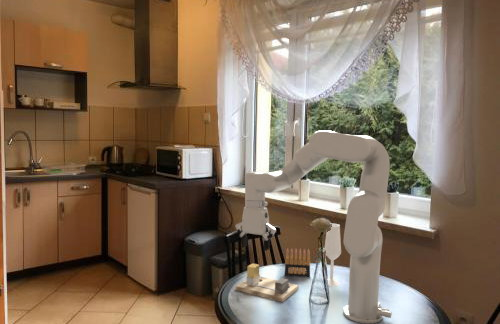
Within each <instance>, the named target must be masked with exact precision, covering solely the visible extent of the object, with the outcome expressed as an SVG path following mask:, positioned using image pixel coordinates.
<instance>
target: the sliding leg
mask: <svg viewBox="0 0 500 324" xmlns="http://www.w3.org/2000/svg"><path fill="white" fill-rule="evenodd" d="M246 274H247V275H246V279H247V280H246V279H245V280H246V284H247V285H251V286H254V285H256V284H257V283H259V281H260V279H261V277H262V276H260V275H261V274H260V264H257V263H251V264H249V265H247V271H246Z"/></svg>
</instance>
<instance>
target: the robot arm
mask: <svg viewBox="0 0 500 324" xmlns="http://www.w3.org/2000/svg"><path fill="white" fill-rule="evenodd" d="M328 159H331V160H338V161H342V162H347V163H356V164H357V163H362V167H363V168H362V171H361V174H360V183H359V189H358V193H356V194H355V195H354V196H353V197H352V198H350V199H351V200H350V201H349V204H348V206H347V212H346V219H345V225H344V226H345V227H344V233H343V246H344V248H345V250H346V252H347V253H348V254H349V255H350V258H349V259H350V260H349V277H348V278H349V279H348V282H349V283H348V298H347V299H348V303H347V304H348V305H345V306H344V307H343V308H342V311H343V315H344V317H346V318H347V319H349V320H351V321H353V322H356V323H360V324H377V323H380V322H381V321H382V320H383V317H385V318H388V319H391V318H392V312H391V311H390V309H389V308H386V307H385V308H384V307H382V306H381V302H380V301H379V294H380V293H379V292H380V290H379V289H380V270H381V257H382V256H381V255H382V248H383V240H384V239H383V233H382V229H381V228H380V226H378V225H379V224H378V223H379V218H380V217H381V216H382V215H383V214H384V211H385V209H386V202H387V194H388V185H389V184H388V183H389V177H390V169H391V168H390V167H391V166H390V164H391V163H390V156H389V153H388V151H387V149H386V148H385V146H384V145H383V144H382V143H381V142H379V141H378V140H377V139H375V138H373V137H372V136H369V135H365V134H364V135H357V134H347V133H340V132H336V131H334V130H333V131H332V130H326V129H324V130H322V129H321V130H317V131H315V132H314V133H313V134H311V136H310V137H309V140H308V142H307V143H305V144H304V145H303V146H302V147H300V148H299V149H297V150H296V151H295V152H294V154H293V158H292V159H291V161H289V162H288V163H287V164H286V165H285V166H283V167H281V168H280V169H278V170H275V171H270V172H261V171H248V172H246V173H245V174H244V195H245V196H244V198H245V199H244V203H245V205H244V207H243V210H242V211H243V212H242V218H241V222H238V223H236V224H235V229H236V230H237V233H238V235H239V237H240V241H241V244H240V245H241V248H245V247H247V246H248V235H247V234H250V235H251V234H252V235H258V236H259V235H260V236H262V238H264V240H263V251H264V252H267V251H268V250H269V249H270V248H271V239H272V238H273V237H274V236H275V233H277V229H276V228H275V227H274V226H273V225H271V223H270V216H269V210H268V208H267V206H268V205H269V202H268V201H266V194H274V193H276V192H280V191H284V190H286V189H287V188H289V187H290V186H292V185H293V184H295V183H296V182H298V181H299V180H302V178H303V177H304V176H306V175H307V174H308V173H310V171H313V169H315V168H316V167H318V166H319V165H321V164H323V163H324V162H325V161H328Z"/></svg>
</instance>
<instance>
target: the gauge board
mask: <svg viewBox="0 0 500 324" xmlns="http://www.w3.org/2000/svg"><path fill="white" fill-rule="evenodd" d="M260 277H261V279H260V281H259V283H257V284H256V285H254V286H251V285H247V284H246V280H247V278H246V279H245V280H244V281H241V282H240V283H238V284H236V285H235V291H238V292H243V293H246V294H247V293H248V294H250V295H255V296H258V297H262V298H266V299H271V300H273V301H277V302H282V303H283V302H285V301H286V300H287V299H288V298H289V297H291V296H292V295H293V294H294V293H295V292H297V291H298V290H299V284H294V283H290V282H289V279H288V278H282V277H280V278H279V279H278V280H277V279H273V278H267V277H263V276H260Z"/></svg>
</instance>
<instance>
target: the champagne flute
mask: <svg viewBox="0 0 500 324" xmlns="http://www.w3.org/2000/svg"><path fill="white" fill-rule="evenodd" d="M331 224H332V227H331V230H330V231H328V232H327V231H326V234H325V242H324V248H325V249H326V254H325V255H326V257H327V258H328V259H329V260H330V267H329V268H330V270H329V272H330V273H329V278H328V279H327V280H328V284H329V286H328V287H338V286H340V284H341V283H340V282H339V281H337V280H336V279H334V264H335V261H334V260H337V258H339V257H340V255H341V254H342V246H341V245H342V244H341V227H340V226H341V225H340V224H339V223H338V224H337V223H331Z"/></svg>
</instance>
